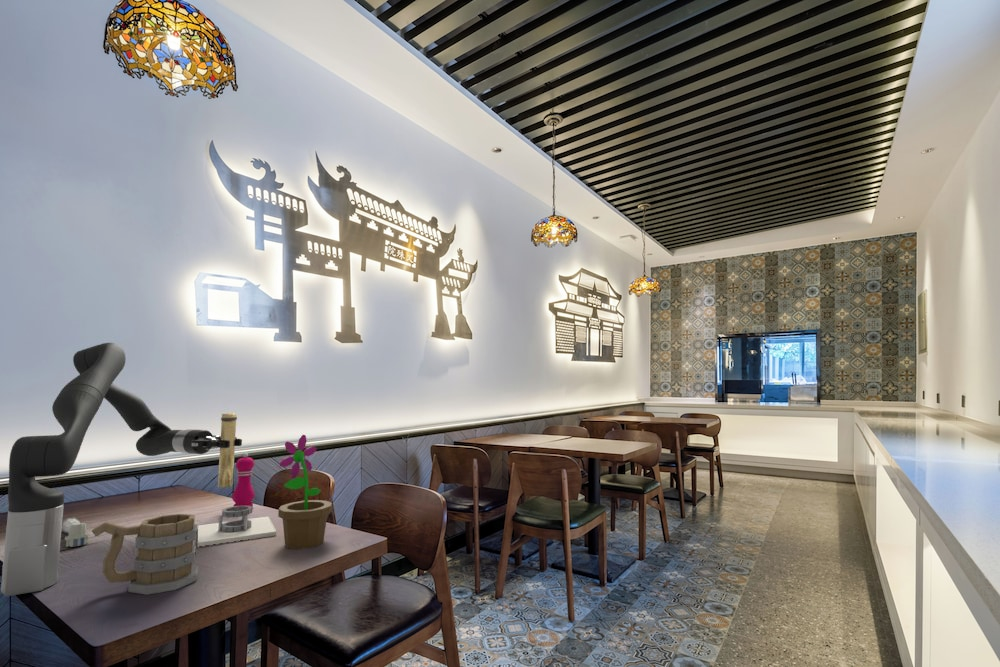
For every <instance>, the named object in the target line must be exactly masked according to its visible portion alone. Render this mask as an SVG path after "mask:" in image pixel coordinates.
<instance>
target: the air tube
mask: <svg viewBox="0 0 1000 667" xmlns="http://www.w3.org/2000/svg"><path fill="white" fill-rule="evenodd" d="M237 420H238V417H237V413H234V412H233V413H229V412H228V413H222V414H221V417H220V421H221V423H220V424H221V425H220V426H221V427H220V436H221V440H229V441H230V447H229V448H219V458H218V459H219V462H218V477H217V478H218V479H217V487H218V488H229V487H232V486H233V485H234V470H235V469H234V466H235V451H236V449H235V448H236V446H235V437H236V429H237V428H236V427H237Z"/></svg>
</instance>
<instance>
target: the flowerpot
mask: <svg viewBox="0 0 1000 667" xmlns="http://www.w3.org/2000/svg"><path fill="white" fill-rule="evenodd" d="M307 442H308V440H307V436H306V434H302V435H301V436H300V438H299V439H298V443H297V447H296V446H295V444H294V443H293V442H291V441H286V442H284V448H285V450H286V451H287V452H288V453H289V454H293V456H287V457H285V458H283V459H282V460H281V461H280V462H279V466H280V467H281V468H282V467H285V468H287V467H289V466H291V465H292V467H291V469H290V477H291V479H290V480H289V481H287V482H286V483H284V485H283V487H285V488H287V489H290V490H299V489H301V488H303V487H304V497H303V498H304V500H300V501H293V502H289V503H286V504H282V505H280V507H279V508H278V514H277V515H278V516H277V517H278V518H281V519H282V524H283V525H282V526H283V528H282V529H283V538H284V545H285V547H286V548H288V549H294V550H299V549H309V548H313V547H317V546H319V545H321V544H323V543H324V539H325V535H326V534H325V533H326V527H327V521H328V520H327V519H328V515H330V514H331V513H332V510H333V508H332V507H333V503H332V502H330V501H328V500H321V499H320V500H319V499H311V500H309V496H310V497H313V496H317V495H318V494H320V493H321V489H319V488H318V487H312V488H309V478H308V471H309V472H311V471H312V469H313V465H312V463H311V461H309V460H308V459H305V457H310V456H311V455H312V456H313V455H314V454H315V453H316V451H317V447H316V446H309V447H306V444H307ZM297 448H298V449H297ZM303 450H304V451H303ZM300 463H301V466H300ZM301 467H302V470H303V477H299V476H298V475H299V472H300V469H301Z"/></svg>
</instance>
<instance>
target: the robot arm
mask: <svg viewBox="0 0 1000 667" xmlns="http://www.w3.org/2000/svg"><path fill="white" fill-rule="evenodd" d="M72 358H73V359H72V361H73V366H74V368H75V370H76V371H77V373H78V374H79V375H77V376H76V377H74V378H73V379H72V380H71V381H69V382H68V383H66V384H65V385H64V386H63V388H62V389H61V390H60V392H59V394H58V395H57V396H56V398H55V399H54V401H53V404H52V408H51V410H52V413H53V416H54V418H55V419H56V421H57V423H58V424H59V425H60V426H61V428H62V429H63V431H64V432H62V433H60V434H58V435H57V434H54V435H51V434H50V435H30V436H22V437H19V438H17V439H16V440H15V441H14V443H13V445H12V447H11V450H10V455H9V460H8V461H9V462H8V491H7V499H8V500H7V501H8V509H7V510H8V511H7V519H6V522H7V523H6V527H5V528H6V529H5V531H6V532H5V541H4V551H3V562H2V570H1V571H2V572H1V574H2V575H1V584H0V585H1V586H0V594H2V595H3V596H4V597H11V596H17V595H22V594H28V593H34V592H40V591H43V590H44V589H47V588H49V587H51V586H54V585H55V584H56V583H57V582H58V574H59V565H60V551H61V539H62V530H61V529H62V523H63V518H64V517H63V515H64V505H65V504H64V503H65V494H64V492H63V491H61V490H59V489H53V488H50V487H47V486H44V485H42V484H40V483H39V482H38V481H37V480H36V478H38V477H39V478H40V477H41V478H42V477H43V478H44V477H55V476H56V477H57V476H62V475H65V474H67V473H68V472H70V471H71V469H72V468H73V466H74V464H75V462H76V460H77V457H78V455H79V453H80V450H81V447H82V444H83V440H84V438H85V436H86V434H87V431H88V429H89V427H90V425H91V424H92V421H93V420H94V418H95V415H97V412H98V411H99V409H100V407H101V405H102V404H103V401H104V400H106V401H107V402H108V404H110V405H111V406H112V407H113V408H114V410H116V411H117V413H118V414H119V415H120V417H121V418H122V419H123V420H124V422H125V423H126V425H127V426H128V428H130V430H131V431H133V432H140V431H144V430H146V429H149V430H148V431H147V432H145V433H144V434H143V435H141V437H139V439H137V441H136V443H135V448H136V450H137V452H138V453H139V454H141V455H143V456H148V457H156V456H161V455H165V454H169V453H182V454H188V455H189V454H192V455H203V454H206V453H208V452H209V451H210V450H214V449H220V448H229V447H230V441H229V440H221V435H218V434H217V435H215V434H212V433H211V432H210V431H209V430H208V429H191V428H190V429H172V428H170V427H169V426H168V425H166V423H164V422H163V421H161V420H160V419H159V418H157V417H156V416H155V414H153V412H152V411H151V409H150V408H149V406H148V405H147V404H146V403H145V402H144V400H143V399H142V398H140V396H138V395H136V394H134V393H132V392H130V391H127V390H126V389H123V388H121V387H119V386H118V385H116V384H114V381H115V380H116V378H117V377H118V376H119V374H120V373H121V372H122V371H123V370H124V367H125V365H126V353H125V351H124V349H123V348H122V347H121V346H120V345H119V344H118V343H115V342H103V343H100V344H96V345H93V346H90V347H87V348H83V349H81V350H78V351H76V352H75V353H74V355H73V357H72ZM242 445H243V440H242V438H238V437H236V436H235V447H241V446H242Z"/></svg>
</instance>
